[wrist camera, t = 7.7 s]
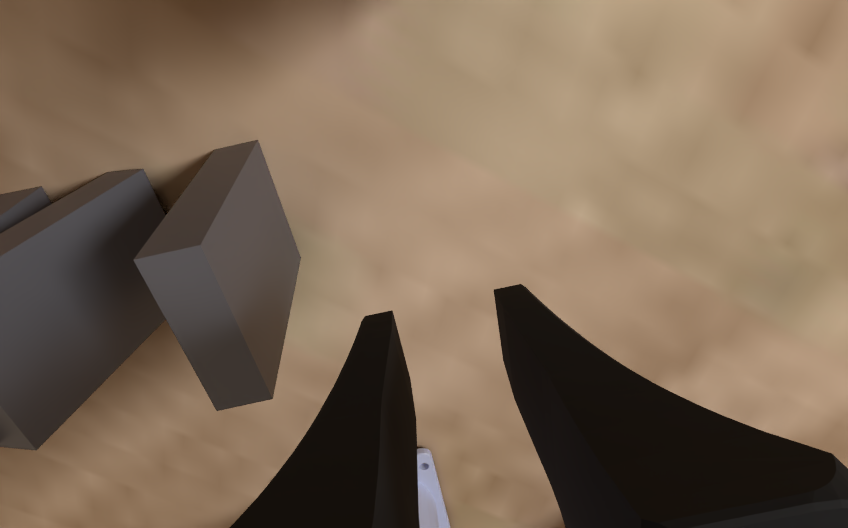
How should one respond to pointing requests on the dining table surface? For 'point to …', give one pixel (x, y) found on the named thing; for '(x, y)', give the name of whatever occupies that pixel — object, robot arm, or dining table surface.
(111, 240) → the domino
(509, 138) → the dining table surface
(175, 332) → the domino
